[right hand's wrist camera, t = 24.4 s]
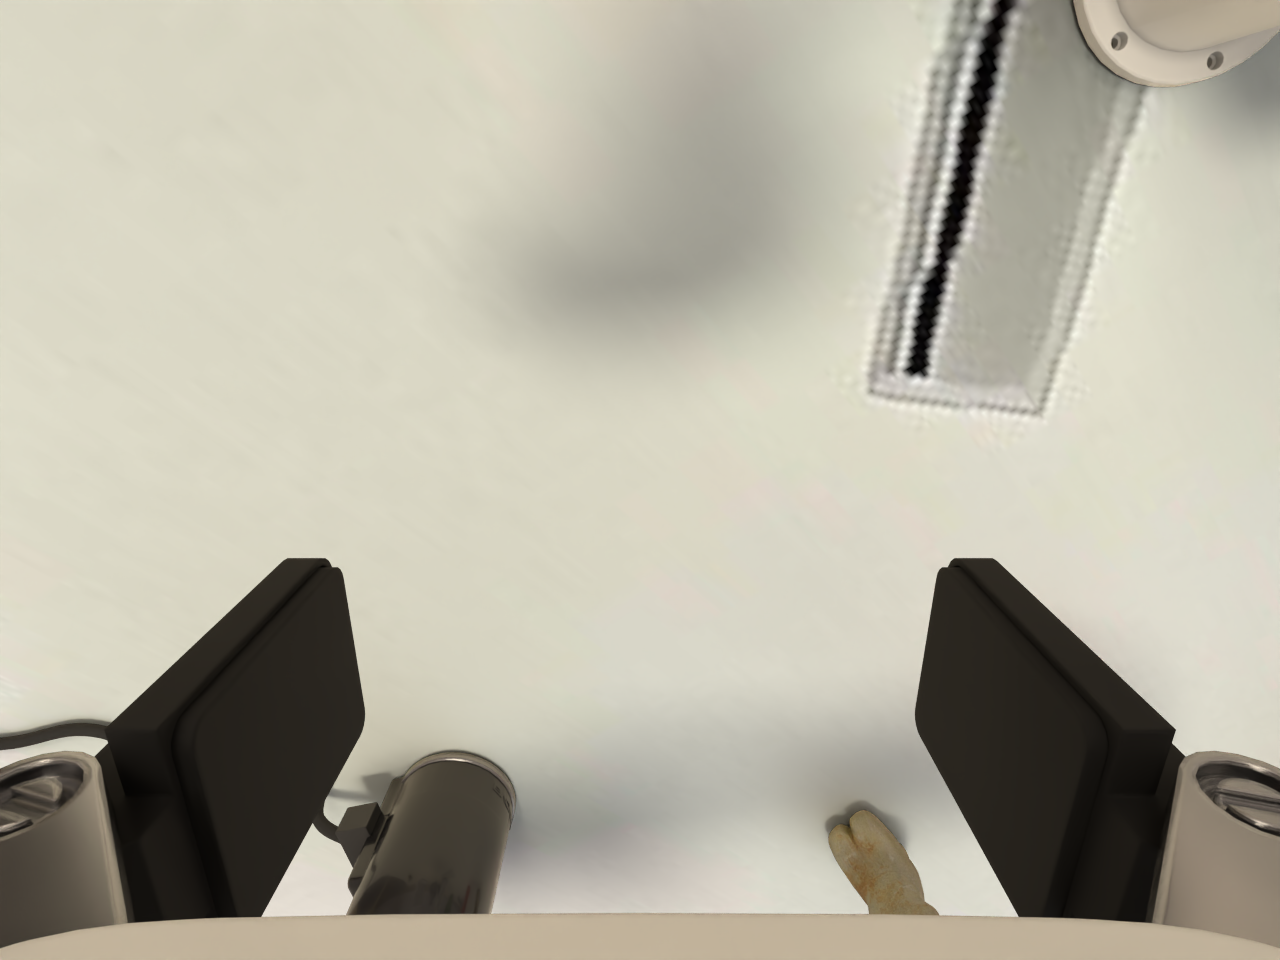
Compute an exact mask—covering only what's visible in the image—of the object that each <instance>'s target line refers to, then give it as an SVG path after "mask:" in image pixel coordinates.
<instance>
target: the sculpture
mask: <svg viewBox="0 0 1280 960" xmlns="http://www.w3.org/2000/svg"><path fill="white" fill-rule="evenodd" d="M849 823H850V827H849V826H846V825H843V824H839V825H837V826H835V828H834V829H833V830H832V831H831V832H830V834H829V845H830V848H831V850H832V853H833V855H834V857H835V859H836V861H837V863H838V864H839V866H840V867H841V869H842V871H843V872H844V873H845V875H846V876H847V878H848V879H849V881H850V882H851V884H852V885H853V887H854V888H855V889H856V891H857V892H858V893H859V895H860V896H861V897H862V899H863V900H864V901H865V903H866V904H867V905H868V909H869V914H892V915H939V914H938V912H937V911H936V909H935V908H934V907H932V906H931V905H929V904H928V903H926V902H925V901H924V893H923V888H922V884H921V880H920V877H919V874H918V872H917V870H916V868H915V866H914V864H913V863H912V862H911V860H910V859H909V857H908V854H907V852H906V850H905V849H904V847H903V846H902V845H901V844H900V843H899V842H898V841H897V839H896V838H895V837H894V835H893V834H892V833H891V832H890V831H889V830H888V829H887V828H886V826H885V825H884V824H883V823H882V822H881V821H880V820H879V819H878V818H877V817H876V816H875V815H873V814H872V813H871V812H869V811H866V810H861V811H858V812H856V813H855V814H854V815H853V816H852V817H851V818H850V821H849Z"/></svg>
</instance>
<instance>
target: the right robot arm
mask: <svg viewBox="0 0 1280 960" xmlns="http://www.w3.org/2000/svg"><path fill="white" fill-rule="evenodd" d="M1073 2H1074V6H1075V11H1076V15H1077V19H1078V24H1079V26H1080V29H1081V31H1082V33H1083V35H1084V37H1085V40H1086V42H1087V44H1088V46H1089V47H1090V48H1091V50H1092V51H1093V52H1094V54H1095V55H1096V56H1097V57H1098V59H1099V60H1100V61H1101V62H1102V63H1103V64H1104V65H1105V66H1107V67H1108V68H1109V69H1110V70H1112V71H1113V72H1114V73H1115V74H1116V75H1119V76H1121V77H1123V78H1125V79H1127V80H1129V81H1131V82H1134V83H1137V84H1142V85H1147V86H1152V87H1177V86H1181V85H1186V84H1191V83H1195V82H1199V81H1203V80H1206V79H1209V78H1212V77H1216V76H1218V75H1220V74H1222V73H1224V72H1226V71H1228V70H1230V69H1232V68H1234V67H1235V66H1237V65H1239V64H1241V63H1243V62H1244V61H1246V60H1247V59H1248V58H1250V57H1251V56H1252V55H1253V54H1255V53H1256V52H1257V51H1259V50H1260V49H1261V48H1263V47H1264V46H1265V45H1266V44H1267V43H1268V42H1269V41H1270V40H1271V39H1272V38H1273V37H1274V36H1275V35H1276V34H1277V33H1278V32H1279V31H1280V0H1073ZM1111 41H1112V42H1113V47H1112V46H1111ZM364 721H365V708H364V701H363V695H362V689H361V683H360V677H359V671H358V664H357V658H356V652H355V646H354V640H353V634H352V627H351V621H350V615H349V609H348V603H347V597H346V590H345V584H344V578H343V574H342V572H341V570H340V569H339V568H338V567H332V566H331V564H330V562H329V561H328V560H327V559H326V558H287V559H285V560H284V561H283V562H281V563H280V564H279V565H278V566H277V567H276V568H275V569H274V570H273V571H272V572H271V573H270V574H269V575H268V576H267V577H266V578H265V579H263V580H262V581H261V582H260V583H259V584H258V585H257V586H256V587H255V588H254V589H253V590H252V591H251V592H250V593H249V594H248V595H246V596H245V597H244V598H243V599H242V600H241V601H240V602H239V603H238V604H237V605H236V606H235V607H234V608H233V609H232V610H231V611H230V612H228V613H227V614H226V615H225V616H224V617H223V618H222V619H221V620H220V621H219V622H218V623H217V624H216V625H215V626H214V627H213V628H211V629H210V630H209V631H208V632H207V633H206V634H205V635H204V636H203V637H202V638H201V639H200V640H199V641H198V642H197V643H196V644H195V645H193V646H192V647H191V648H190V649H189V650H188V651H187V652H186V653H185V654H184V655H183V656H182V657H181V658H180V659H179V660H178V661H177V662H175V663H174V664H173V665H172V666H171V667H170V668H169V669H168V670H167V671H166V672H165V673H164V674H163V675H162V676H161V677H160V678H158V679H157V680H156V681H155V682H154V683H153V684H152V685H151V686H150V687H149V688H148V689H147V690H146V691H145V692H144V693H143V694H142V695H140V696H139V697H138V698H137V699H136V700H135V701H134V702H133V703H132V704H131V705H130V706H129V707H128V708H127V709H126V710H125V711H123V712H122V713H121V714H120V715H119V716H118V717H117V718H116V719H115V720H114V721H113V722H112V723H111V724H110V725H109V726H108V727H107V728H105V729H104V731H105V734H106V737H107V740H108V744H107V745H106V746H105V747H104V748H103V749H102V750H101V751H100V752H99V753H98V754H97V755H96V756H95V757H93V756H91V755H89V754H86V753H84V752H74V751H61V752H54V753H47V754H41V755H38V756H34V757H31V758H27V759H24V760H20V761H17V762H15V763H12V764H10V765H8V766H5V767H3V768H1V769H0V960H1280V769H1279V768H1277V767H1275V766H1272V765H1270V764H1268V763H1265V762H1263V761H1260V760H1256V759H1253V758H1249V757H1246V756H1242V755H1239V754H1233V753H1226V752H1219V751H1206V752H1196V753H1194V754H1191V755H1189V756H1187V757H1185V756H1184V755H1183V754H1182V753H1181V752H1180V751H1179V750H1178V749H1177V748H1176V747H1175V746H1174V745H1173V744H1172V740H1173V737H1174V734H1175V731H1176V729H1175V728H1173V727H1172V726H1171V725H1170V724H1169V723H1168V722H1167V721H1166V720H1165V719H1164V718H1163V717H1162V716H1161V715H1160V714H1159V713H1158V712H1157V711H1155V710H1154V709H1153V708H1152V707H1151V706H1150V705H1149V704H1148V703H1147V702H1146V701H1145V700H1144V699H1143V698H1142V697H1141V696H1140V695H1138V694H1137V693H1136V692H1135V691H1134V690H1133V689H1132V688H1131V687H1130V686H1129V685H1128V684H1127V683H1126V682H1125V681H1124V680H1123V679H1122V678H1120V677H1119V676H1118V675H1117V674H1116V673H1115V672H1114V671H1113V670H1112V669H1111V668H1110V667H1109V666H1108V665H1107V664H1106V663H1105V662H1103V661H1102V660H1101V659H1100V658H1099V657H1098V656H1097V655H1096V654H1095V653H1094V652H1093V651H1092V650H1091V649H1090V648H1089V647H1088V646H1087V645H1085V644H1084V643H1083V642H1082V641H1081V640H1080V639H1079V638H1078V637H1077V636H1076V635H1075V634H1074V633H1073V632H1072V631H1071V630H1070V629H1069V628H1067V627H1066V626H1065V625H1064V624H1063V623H1062V622H1061V621H1060V620H1059V619H1058V618H1057V617H1056V616H1055V615H1054V614H1053V613H1052V612H1050V611H1049V610H1048V609H1047V608H1046V607H1045V606H1044V605H1043V604H1042V603H1041V602H1040V601H1039V600H1038V599H1037V598H1036V597H1035V596H1034V595H1032V594H1031V593H1030V592H1029V591H1028V590H1027V589H1026V588H1025V587H1024V586H1023V585H1022V584H1021V583H1020V582H1019V581H1018V580H1017V579H1015V578H1014V577H1013V576H1012V575H1011V574H1010V573H1009V572H1008V571H1007V570H1006V569H1005V568H1004V567H1003V566H1002V565H1001V564H1000V563H999V562H997V561H996V560H995V559H993V558H954V559H953V560H952V561H951V562H950V564H949V566H948V567H942V568H941V569H940V570H939V572H938V574H937V578H936V584H935V590H934V596H933V603H932V609H931V615H930V621H929V627H928V634H927V640H926V646H925V652H924V658H923V664H922V671H921V677H920V683H919V689H918V695H917V701H916V708H915V721H916V726H917V730H918V733H919V735H920V737H921V739H922V741H923V743H924V744H925V746H926V748H927V750H928V752H929V753H930V755H931V757H932V759H933V761H934V763H935V764H936V766H937V768H938V770H939V772H940V774H941V775H942V777H943V779H944V781H945V783H946V785H947V786H948V788H949V790H950V792H951V794H952V796H953V797H954V799H955V801H956V803H957V805H958V806H959V808H960V810H961V812H962V814H963V816H964V817H965V819H966V821H967V823H968V825H969V827H970V828H971V830H972V832H973V834H974V836H975V838H976V839H977V841H978V843H979V845H980V847H981V849H982V850H983V852H984V854H985V856H986V858H987V859H988V861H989V863H990V865H991V867H992V869H993V870H994V872H995V874H996V876H997V878H998V880H999V881H1000V883H1001V885H1002V887H1003V889H1004V891H1005V892H1006V894H1007V896H1008V898H1009V900H1010V902H1011V903H1012V905H1013V907H1014V909H1015V911H1016V912H1017V914H1018V916H1019V917H990V916H941V915H892V914H712V913H568V914H388V915H339V916H290V917H261V916H262V914H263V912H264V911H265V909H266V907H267V905H268V903H269V902H270V900H271V898H272V896H273V894H274V892H275V891H276V889H277V887H278V885H279V883H280V881H281V880H282V878H283V876H284V874H285V872H286V870H287V869H288V867H289V865H290V863H291V861H292V859H293V858H294V856H295V854H296V852H297V850H298V849H299V847H300V845H301V843H302V841H303V839H304V838H305V836H306V834H307V832H308V830H309V828H310V827H311V825H312V823H313V821H314V819H315V817H316V816H317V814H318V812H319V810H320V808H321V806H322V805H323V803H324V801H325V799H326V797H327V796H328V794H329V792H330V790H331V788H332V786H333V785H334V783H335V781H336V779H337V777H338V775H339V774H340V772H341V770H342V768H343V766H344V764H345V763H346V761H347V759H348V757H349V755H350V753H351V752H352V750H353V748H354V746H355V744H356V743H357V741H358V739H359V737H360V735H361V733H362V730H363V726H364Z"/></svg>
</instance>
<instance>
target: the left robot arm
mask: <svg viewBox="0 0 1280 960" xmlns="http://www.w3.org/2000/svg"><path fill="white" fill-rule="evenodd" d="M107 727H108V726H103V725H97V724H88V723H74V724H65V725H59V726H55V727H51V728H47V729H43V730H39V731H36V732H32V733H28V734H23V735H18V736H12V737H2V738H0V750H7V749H15V748H21V747H26V746H30V745H34V744H38V743H42V742H45V741H49V740H53V739H57V738H62V737H69V736H90V737H97V738H102V739H105V740H107V737H106V734H105V731H104V729H105V728H107ZM324 802H325V801H324ZM515 806H516V797H515V792H514V789H513V786H512V784H511V782H510V781H509V779H508V778H507V776H506V775H505V774H504V773H503V772H502V771H501V770H500V769H499V768H498V767H496V766H495V765H494V764H492V763H491V762H489V761H487V760H485V759H483V758H480V757H478V756H475V755H471V754H467V753H460V752H445V753H438V754H434V755H431V756H428V757H426V758H424V759H422V760H420V761H418V762H417V763H415V764H414V765H413V766H412V767H411V768H410V769H409V770H408V771H407V773H406V774H405V776H403V777H401V778H396V779H393V780H392V782H391V785H390V787H389V789H388V791H387V793H386V796H385V798H384V800H383V802H382V805H381V807H379V805H378V803H377V802H375V803H370V804H364V805H359V806H354V807H349V808H347V810H346V812H345V814H344V816H343V818H342V820H341V822H340V824H339V826H336V825H334V824H332V823H331V822H330V821H328V820H327V818H326V817H325V816H324V813H323V808H324V803H323V805H322V806H321V808H320V810H319V812H318V814H317V816H316V817H315V819H314V821H313V824H314V826H315V827H316V829H317V830H318V831H319V832H320V833H321V834H323V835H324V836H326V837H327V838H329V839H331V840H333V841H336V842H338V843H340V844H341V845H342V847H343V849H344V851H345V853H346V855H347V857H348V859H349V861H350V863H351V865H352V867H353V870H352V872H351V874H350V877H349V879H348V888H349V890H350V892H351V894H352V896H353V900H352V902H351V905H350V907H349V909H348V912H347V914H346V915H388V914H491V912H492V907H493V902H494V898H495V893H496V889H497V884H498V879H499V875H500V870H501V865H502V861H503V856H504V852H505V847H506V843H507V838H508V834H509V830H510V827H511V823H512V820H513V816H514V812H515Z"/></svg>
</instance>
